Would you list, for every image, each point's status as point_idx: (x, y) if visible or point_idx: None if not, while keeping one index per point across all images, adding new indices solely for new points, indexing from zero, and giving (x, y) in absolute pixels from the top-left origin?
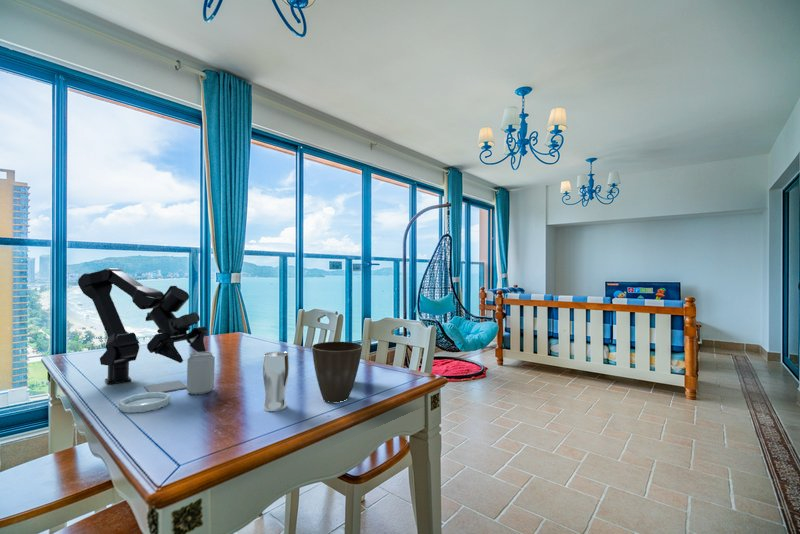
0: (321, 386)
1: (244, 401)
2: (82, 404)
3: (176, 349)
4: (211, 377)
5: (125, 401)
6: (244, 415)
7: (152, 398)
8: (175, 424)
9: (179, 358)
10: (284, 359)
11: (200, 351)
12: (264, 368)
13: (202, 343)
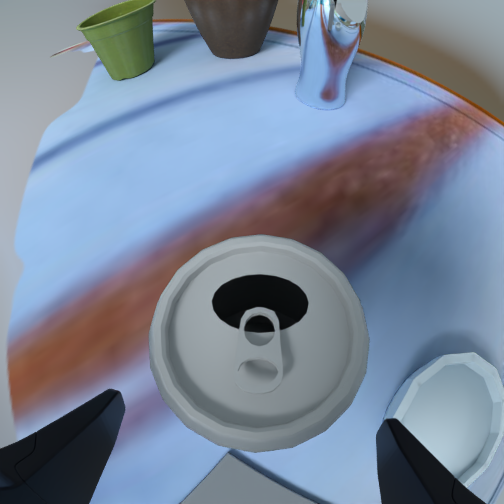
0: (265, 28)
1: (309, 158)
2: None
3: (437, 501)
4: (260, 289)
5: (465, 476)
6: (384, 126)
7: None
8: (485, 225)
9: (410, 438)
10: None
11: (99, 450)
12: (365, 21)
13: (31, 450)
